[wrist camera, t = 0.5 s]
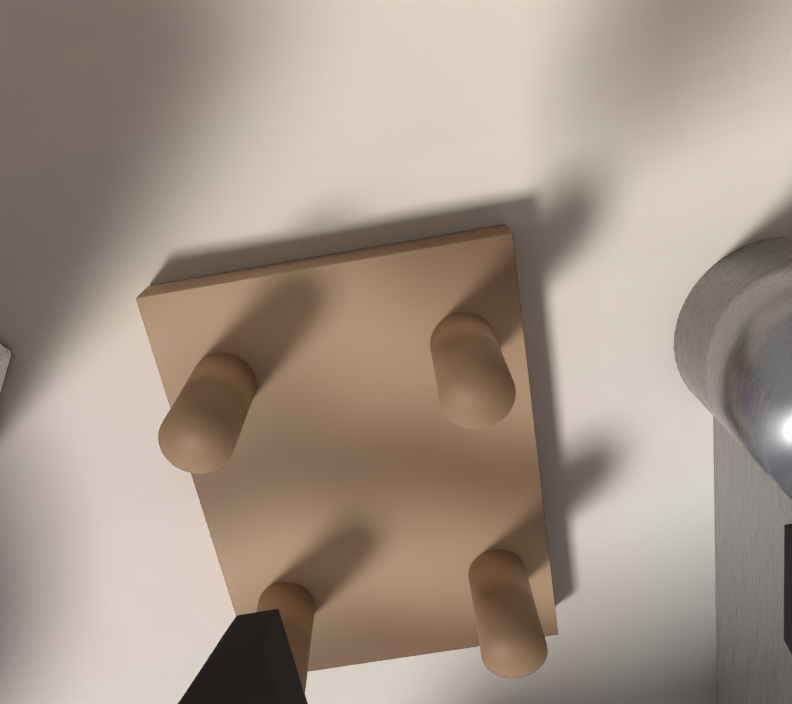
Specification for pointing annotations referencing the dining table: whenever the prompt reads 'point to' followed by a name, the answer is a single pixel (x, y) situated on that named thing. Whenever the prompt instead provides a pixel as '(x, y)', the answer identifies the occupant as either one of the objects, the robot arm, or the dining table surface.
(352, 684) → the dining table surface
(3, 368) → the skincare box
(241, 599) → the rack
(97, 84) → the dining table surface
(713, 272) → the grey ball-headed rattle
